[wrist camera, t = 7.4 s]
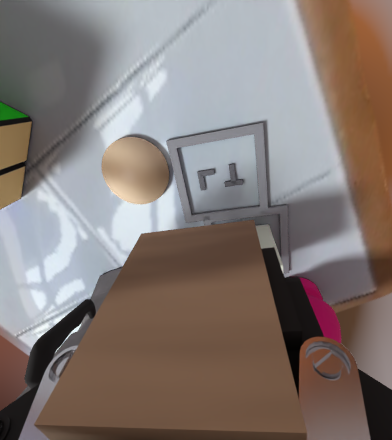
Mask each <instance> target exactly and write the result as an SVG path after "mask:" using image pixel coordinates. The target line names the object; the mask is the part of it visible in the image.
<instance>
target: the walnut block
mask: <svg viewBox="0 0 392 440" xmlns="http://www.w3.org/2000/svg"><path fill="white" fill-rule="evenodd" d="M34 425H35V426H36V427H37V428H38V429H39V430H40V431H41V432H42V433H43V434H44V435H45V436H46V437H47V438H48V439H50V440H307V431H306V426H305V422H304V418H303V414H302V410H301V406H300V402H299V398H298V394H297V390H296V386H295V382H294V378H293V374H292V370H291V366H290V362H289V358H288V354H287V350H286V346H285V342H284V338H283V334H282V330H281V326H280V322H279V318H278V314H277V310H276V306H275V302H274V298H273V294H272V290H271V286H270V282H269V278H268V274H267V270H266V266H265V262H264V258H263V254H262V250H261V246H260V242H259V238H258V234H257V230H256V226H255V222H254V220H248V221H240V222H232V223H224V224H216V225H208V226H200V227H192V228H184V229H176V230H168V231H160V232H152V233H144V234H141V235H140V237H139V239H138V241H137V243H136V244H135V246H134V248H133V250H132V251H131V253H130V255H129V257H128V258H127V260H126V262H125V264H124V266H123V267H122V269H121V271H120V273H119V274H118V276H117V278H116V280H115V282H114V283H113V285H112V287H111V289H110V290H109V292H108V294H107V296H106V297H105V299H104V301H103V303H102V305H101V306H100V308H99V310H98V312H97V313H96V315H95V317H94V319H93V321H92V322H91V324H90V326H89V328H88V329H87V331H86V333H85V335H84V336H83V338H82V340H81V342H80V344H79V345H78V347H77V349H76V351H75V352H74V354H73V356H72V358H71V360H70V361H69V363H68V365H67V367H66V368H65V370H64V372H63V374H62V375H61V377H60V379H59V381H58V383H57V384H56V386H55V388H54V390H53V391H52V393H51V395H50V397H49V399H48V400H47V402H46V404H45V406H44V407H43V409H42V411H41V413H40V414H39V416H38V418H37V420H36V422H35V423H34Z"/></svg>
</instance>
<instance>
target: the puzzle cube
mask: <svg viewBox="0 0 392 440" xmlns="http://www.w3.org/2000/svg"><path fill="white" fill-rule="evenodd" d="M31 124H32V121H31V119H30V117H29V116H27V115H25V114H23V113H21V112H19V111H17V110H15V109H13V108H11V107H9V106H7V105H6V104H4V103H2V102H0V209H2V208H4V207H6V206H8V205H10V204H12V203H13V202H15V201H17V200H19V199H21V195H22V188H23V181H24V174H25V164H24V163H23V162H24V161H26V160H27V153H28V146H29V139H30V132H31Z"/></svg>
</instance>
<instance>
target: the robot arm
mask: <svg viewBox="0 0 392 440" xmlns="http://www.w3.org/2000/svg"><path fill="white" fill-rule="evenodd" d="M261 250H262V254H263V258H264V262H265V266H266V270H267V274H268V278H269V282H270V286H271V290H272V294H273V298H274V302H275V306H276V310H277V314H278V318H279V322H280V326H281V330H282V334H283V338H284V342H285V346H286V350H287V354H288V358H289V362H290V366H291V370H292V374H293V378H294V382H295V386H296V390H297V394H298V398H299V402H300V406H301V410H302V414H303V418H304V422H305V426H306V431H307V440H392V390H391V389H389V388H388V387H386V386H385V385H383V384H382V383H380V382H378V381H377V380H375V379H373V378H372V377H370V376H369V375H367V374H366V373H364V372H363V371H361V370H359V369H358V367H357V364H356V361H355V358H354V357H353V355H352V354H351V353H350V351H349V350H348V349H347V348H346V347H345V346H343V345H342V344H341V343H339V342H337V341H335V340H333V339H330V338H327V337H324V335H323V332H322V330H321V328H320V325H319V323H318V320H317V318H316V316H315V313H314V311H313V308H312V306H311V304H310V301H309V299H308V296H307V294H306V292H305V289H304V287H303V284H302V282H301V280H300V278H299V277H290V278H284V275H283V272H282V269H281V266H280V263H279V260H278V257H277V254H276V251H275V248H274V247H272V248H262V249H261ZM77 347H78V345H77V346H72V347H69V348H67V349H65V350H63V351H62V352H60V353H59V354H58V355H57V356H56V357H55V358H54V359H53V360H52V361H51V362H50V364H49V365H48V367H47V369H46V371H45V373H44V376H43V378H42V381H41V383H39V384H38V385H36V386H35V387H34V388H32V389H31V390H29V391H28V392H26V393H25V394H24V395H22V396H21V397H19V398H18V399H17V400H16V401H14V402H12V403H11V404H10V405H8V406H7V407H5V408H4V409H3V410H1V411H0V440H50V439H48V438H47V437H46V436H45V435H44V434H43V433H42V432H41V431H40V430H39V429H38V428H37V427H36V426H35V425H34V423H35V422H36V420H37V418H38V416H39V414H40V413H41V411H42V409H43V407H44V406H45V404H46V402H47V400H48V399H49V397H50V395H51V393H52V391H53V390H54V388H55V386H56V384H57V383H58V381H59V379H60V377H61V375H62V374H63V372H64V370H65V368H66V367H67V365H68V363H69V361H70V360H71V358H72V356H73V354H74V352H75V351H76V349H77Z"/></svg>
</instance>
